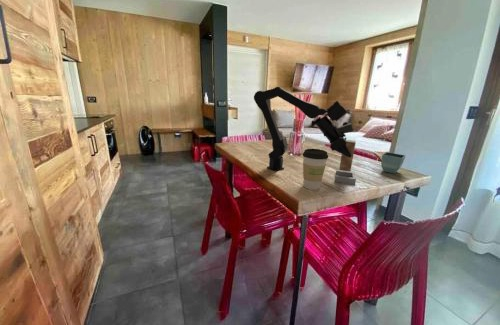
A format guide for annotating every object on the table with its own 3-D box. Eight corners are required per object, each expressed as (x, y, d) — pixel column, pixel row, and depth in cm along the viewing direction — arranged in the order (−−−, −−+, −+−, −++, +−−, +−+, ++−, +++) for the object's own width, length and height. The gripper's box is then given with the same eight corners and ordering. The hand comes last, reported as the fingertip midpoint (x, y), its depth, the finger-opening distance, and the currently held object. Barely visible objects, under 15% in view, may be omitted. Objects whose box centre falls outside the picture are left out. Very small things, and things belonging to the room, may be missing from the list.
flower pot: (401, 171, 112) (405, 155, 109) (398, 175, 105) (402, 158, 103) (382, 167, 117) (386, 151, 115) (378, 171, 111) (381, 154, 109)
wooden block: (339, 170, 96) (344, 141, 92) (339, 167, 100) (344, 139, 96) (350, 171, 94) (355, 142, 91) (350, 168, 98) (355, 140, 95)
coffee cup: (320, 193, 83) (325, 155, 78) (295, 187, 88) (299, 151, 83) (326, 185, 91) (331, 150, 86) (303, 180, 96) (307, 147, 91)
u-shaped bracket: (334, 181, 96) (335, 176, 95) (335, 174, 104) (336, 169, 103) (355, 184, 93) (356, 179, 92) (354, 177, 101) (355, 172, 100)
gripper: (343, 117, 84) (369, 148, 83) (343, 114, 100) (365, 140, 99) (319, 135, 89) (344, 165, 88) (323, 130, 105) (344, 155, 105)
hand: (350, 155), depth 95 cm, fingers closed on wooden block, 4 cm apart
